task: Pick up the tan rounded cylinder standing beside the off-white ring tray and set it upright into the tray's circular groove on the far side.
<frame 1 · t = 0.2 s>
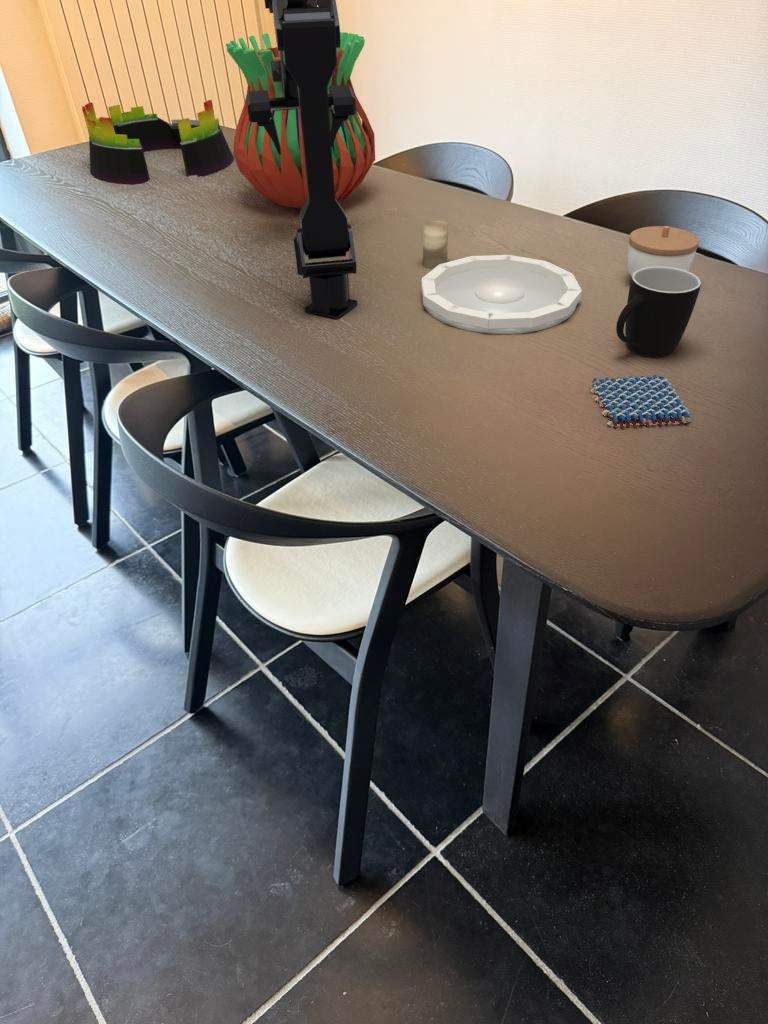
hand: (304, 151, 131), 15 cm above the table, tool pointing down, fingers open, 9 cm apart
lidded jar: (653, 284, 119), on the table
mug: (642, 350, 102), on the table
ring tray: (498, 299, 116), on the table
decorative container: (163, 165, 185), on the table
vase: (309, 200, 159), on the table
tan rounded cylinder: (434, 264, 128), on the table
woven mat: (635, 409, 91), on the table
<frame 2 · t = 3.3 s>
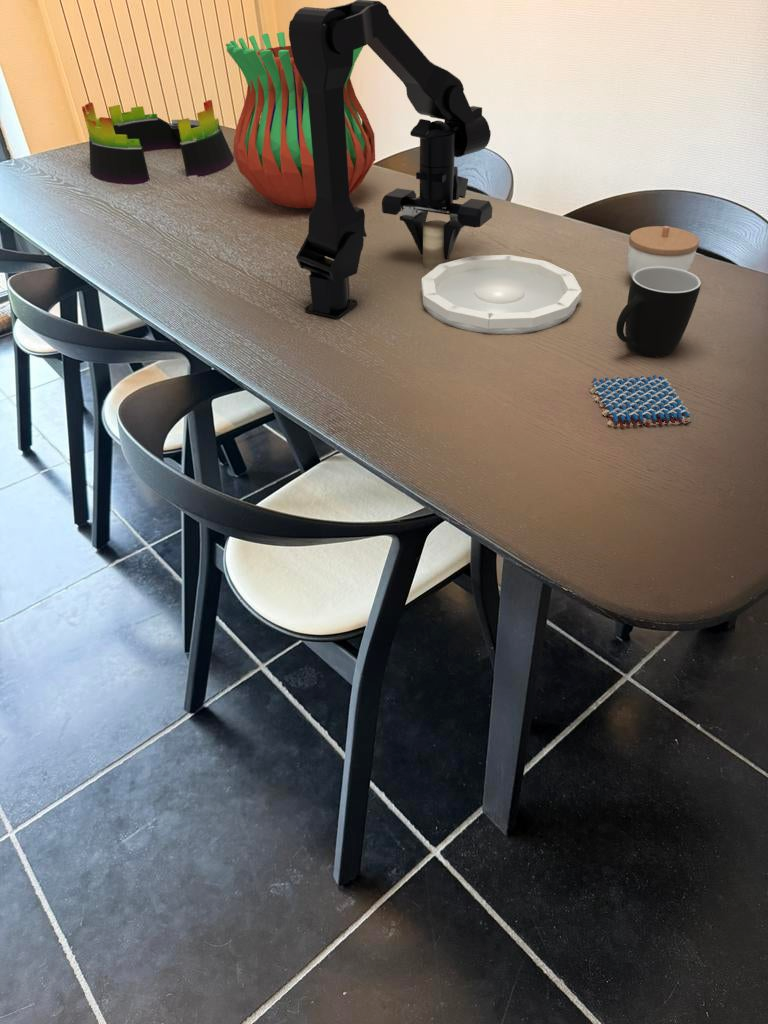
hand: (435, 256, 127), 1 cm above the table, tool pointing down, fingers closed on tan rounded cylinder, 4 cm apart
tan rounded cylinder: (434, 264, 128), on the table, touching gripper
everything else where it was.
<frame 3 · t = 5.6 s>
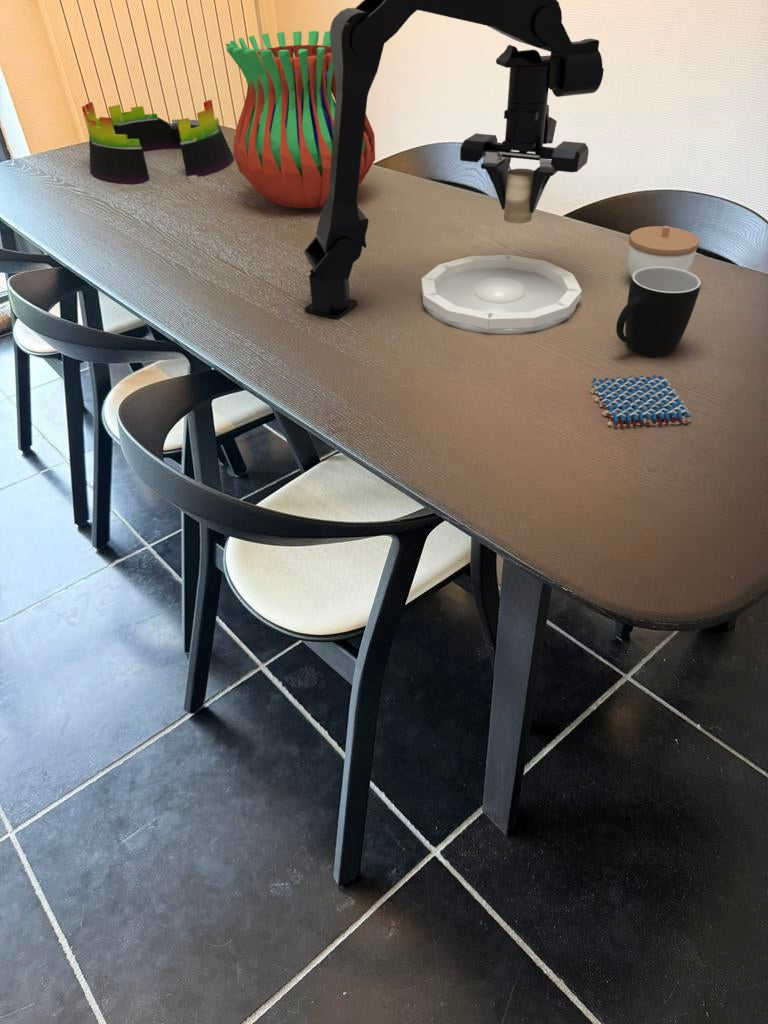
hand: (518, 210, 114), 12 cm above the table, tool pointing down, fingers closed on tan rounded cylinder, 4 cm apart
tan rounded cylinder: (517, 218, 114), point 10 cm above the table, touching gripper
everything else where it was.
when the fingers open (3 cm above the table, at t = 8.0 s): tan rounded cylinder drops 1 cm, resting on ring tray.
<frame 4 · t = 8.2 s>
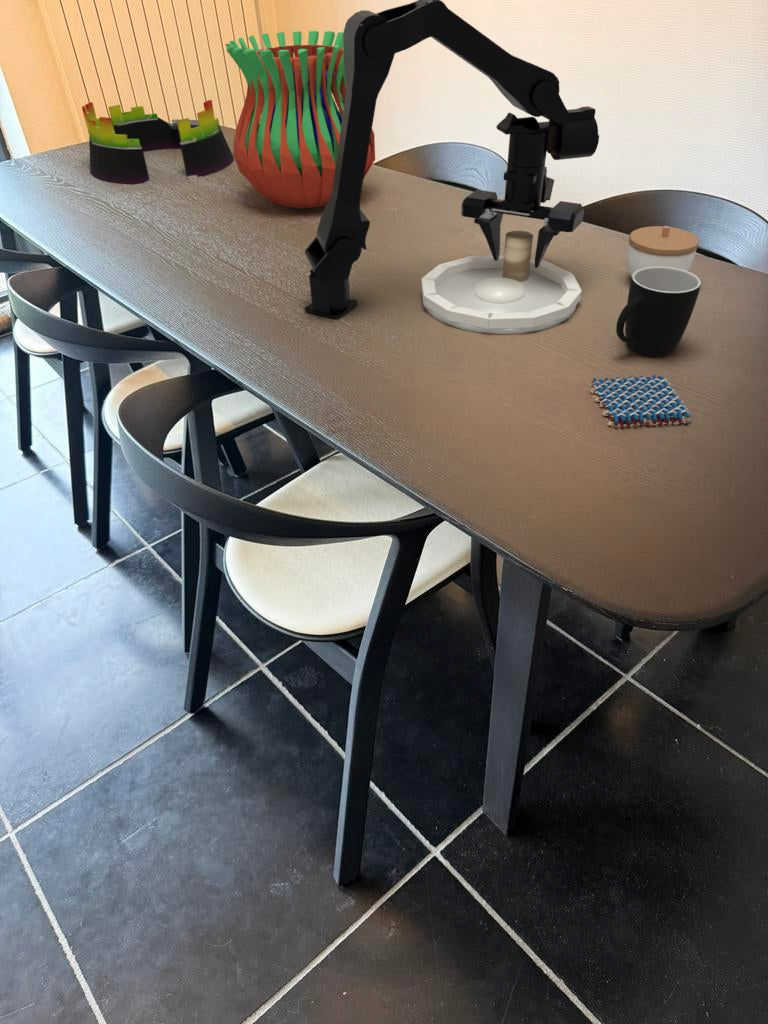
hand: (516, 263, 118), 3 cm above the table, tool pointing down, fingers open, 7 cm apart
tan rounded cylinder: (515, 277, 120), point 1 cm above the table, touching ring tray
everything else where it was.
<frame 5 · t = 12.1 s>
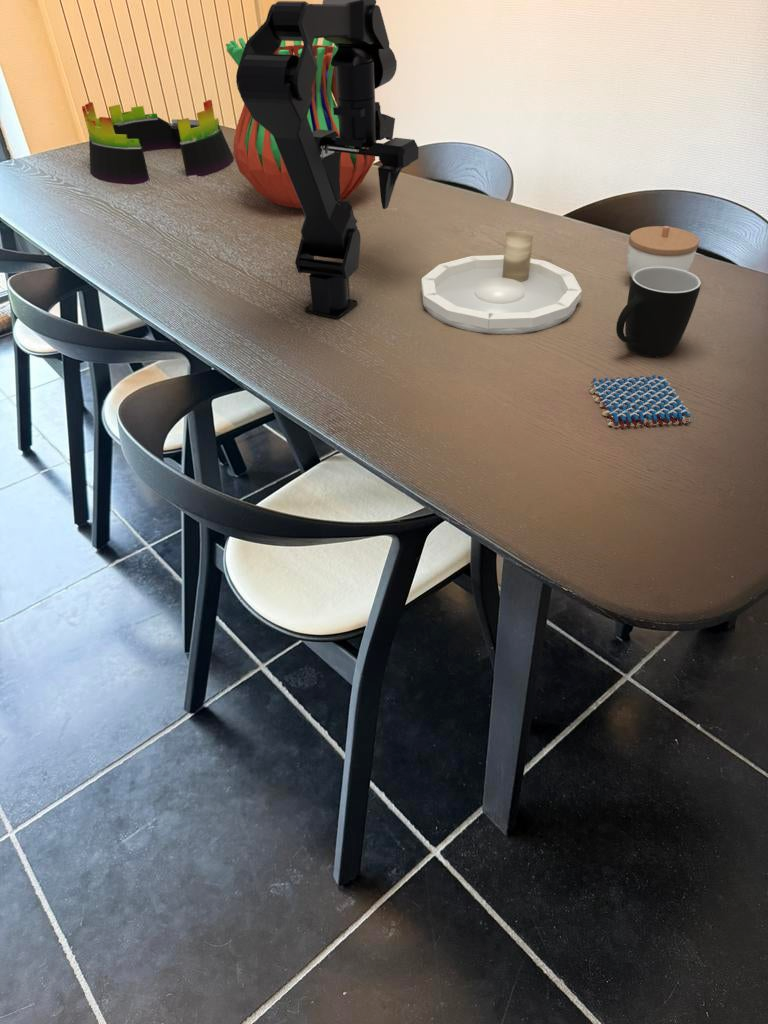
hand: (361, 204, 117), 12 cm above the table, tool pointing down, fingers open, 9 cm apart
nothing on the table moved.
at the end: tan rounded cylinder 0.0 cm from the target spot on the ring tray, point 1.0 cm above the ring tray's base; tan rounded cylinder tilted 0°; the gripper is holding nothing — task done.
